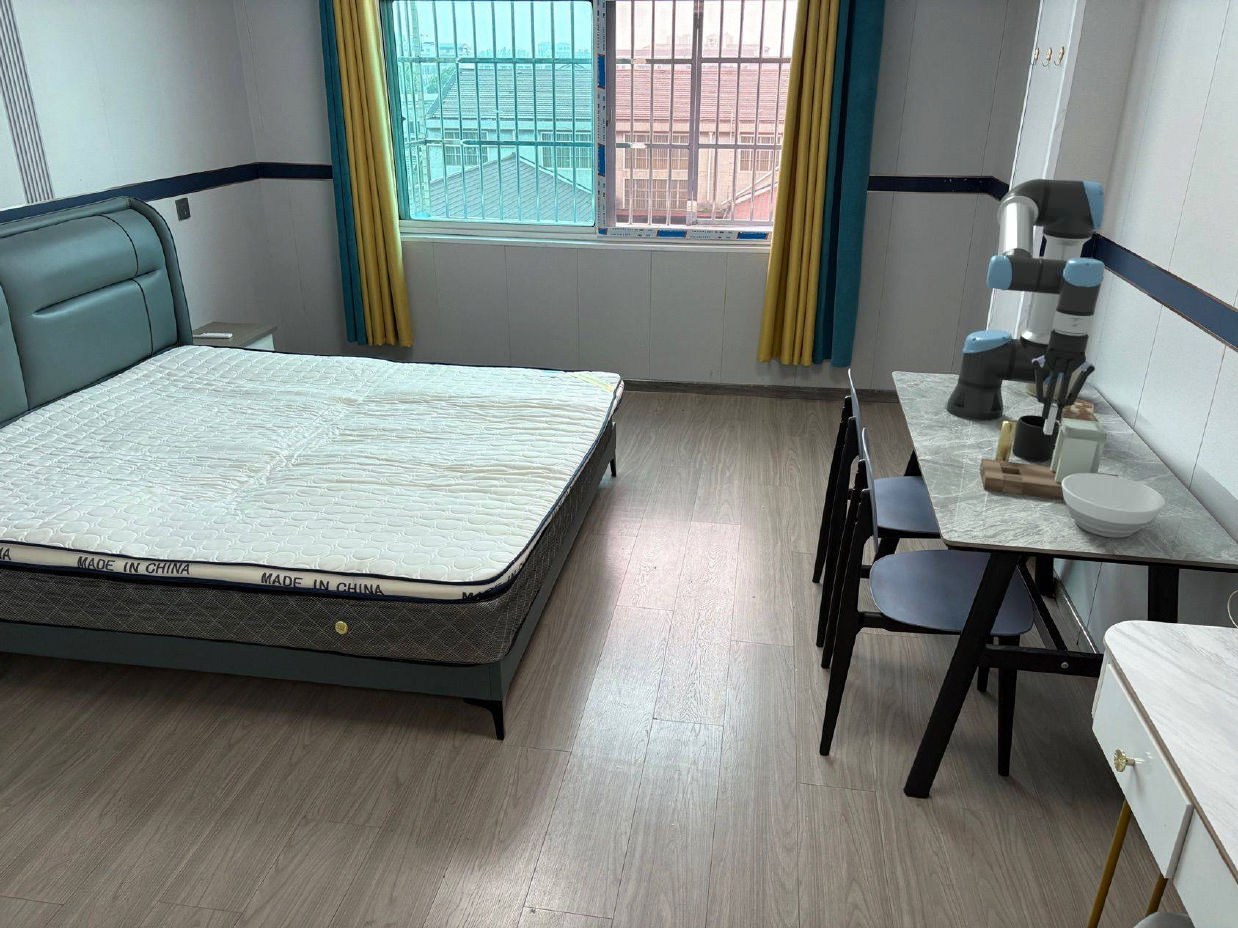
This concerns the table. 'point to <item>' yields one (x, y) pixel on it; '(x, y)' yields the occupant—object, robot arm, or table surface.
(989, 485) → the wooden slotted block
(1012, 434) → the pin
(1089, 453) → the housing
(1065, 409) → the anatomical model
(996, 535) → the table surface
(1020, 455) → the mug
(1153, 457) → the table surface
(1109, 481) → the bowl
